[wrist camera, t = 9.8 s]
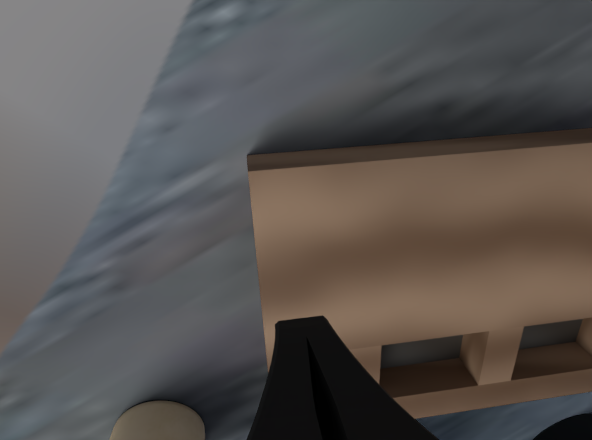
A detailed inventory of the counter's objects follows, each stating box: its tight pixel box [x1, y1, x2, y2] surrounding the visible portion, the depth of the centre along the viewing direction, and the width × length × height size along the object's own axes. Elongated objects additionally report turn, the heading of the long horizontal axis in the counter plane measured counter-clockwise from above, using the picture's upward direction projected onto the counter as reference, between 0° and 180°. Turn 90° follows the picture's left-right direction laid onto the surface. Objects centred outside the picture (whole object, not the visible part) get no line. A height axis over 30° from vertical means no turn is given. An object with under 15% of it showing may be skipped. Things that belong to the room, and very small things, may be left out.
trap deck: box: [247, 128, 592, 419], centre depth 22 cm, size 16×28×2 cm, turn 93°
